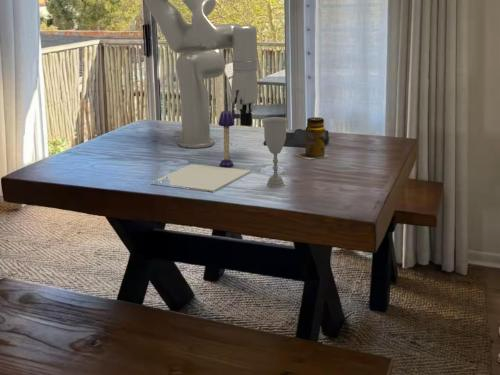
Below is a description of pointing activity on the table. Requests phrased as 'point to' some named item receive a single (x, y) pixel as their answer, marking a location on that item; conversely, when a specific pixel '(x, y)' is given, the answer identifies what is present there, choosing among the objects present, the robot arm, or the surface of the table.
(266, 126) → the chalice
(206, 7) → the robot arm
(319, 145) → the condiment
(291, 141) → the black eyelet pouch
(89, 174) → the table surface
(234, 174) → the mat
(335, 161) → the table surface
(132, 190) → the table surface
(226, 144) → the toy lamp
